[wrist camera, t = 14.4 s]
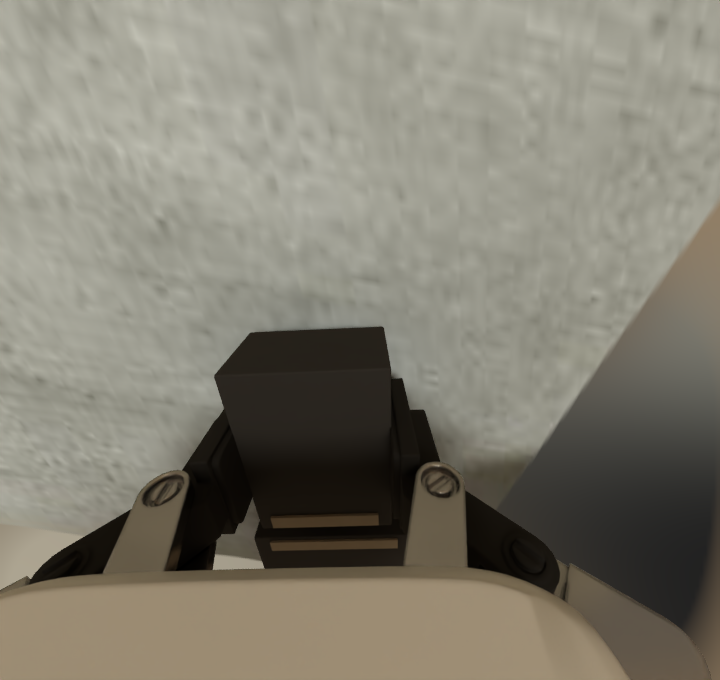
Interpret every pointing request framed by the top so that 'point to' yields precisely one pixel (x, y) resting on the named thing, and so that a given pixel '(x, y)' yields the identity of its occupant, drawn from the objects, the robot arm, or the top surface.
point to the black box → (313, 425)
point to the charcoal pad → (332, 546)
